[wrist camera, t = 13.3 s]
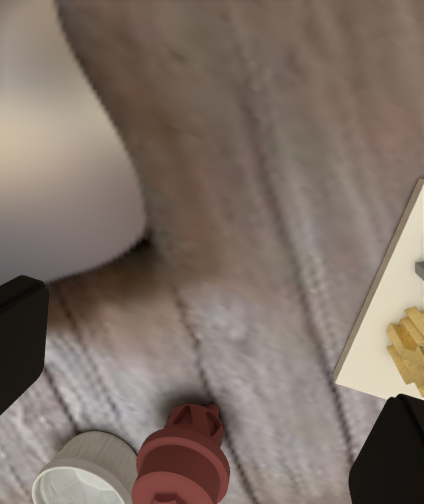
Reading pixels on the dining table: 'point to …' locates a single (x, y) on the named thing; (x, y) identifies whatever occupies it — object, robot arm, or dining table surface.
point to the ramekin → (88, 472)
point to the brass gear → (409, 347)
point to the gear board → (387, 310)
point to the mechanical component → (183, 460)
